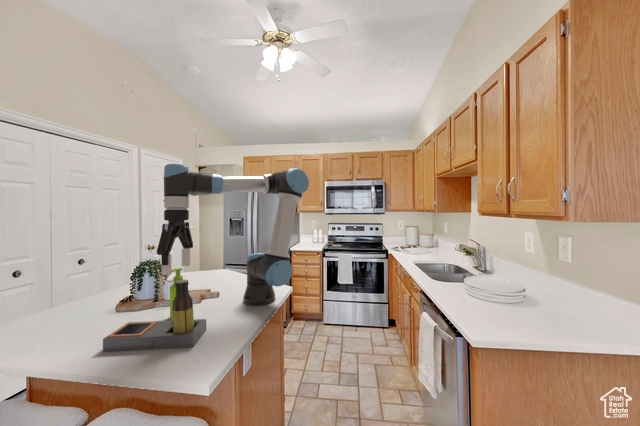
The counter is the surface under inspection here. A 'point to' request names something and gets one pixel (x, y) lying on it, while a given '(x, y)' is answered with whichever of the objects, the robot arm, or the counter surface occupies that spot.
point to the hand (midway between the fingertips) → (177, 270)
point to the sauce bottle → (182, 308)
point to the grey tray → (152, 336)
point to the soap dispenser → (174, 289)
